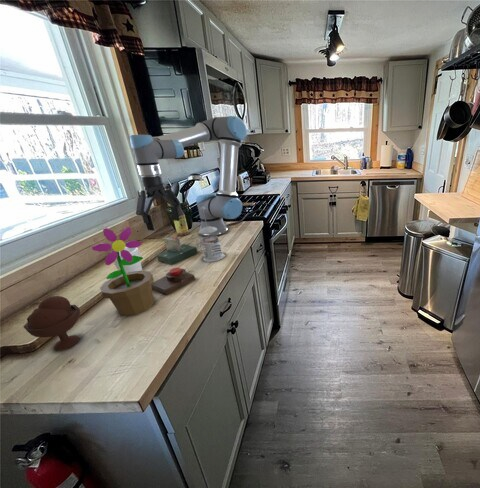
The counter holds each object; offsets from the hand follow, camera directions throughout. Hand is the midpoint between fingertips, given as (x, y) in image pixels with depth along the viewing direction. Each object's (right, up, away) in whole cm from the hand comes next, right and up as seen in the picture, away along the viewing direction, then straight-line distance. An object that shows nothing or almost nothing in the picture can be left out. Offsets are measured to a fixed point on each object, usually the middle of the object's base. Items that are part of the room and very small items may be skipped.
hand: (164, 225), depth 114 cm
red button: (+11, -20, -11) cm, 26 cm away
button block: (+11, -24, -11) cm, 29 cm away
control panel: (-1, -14, +12) cm, 19 cm away
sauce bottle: (-14, -3, +41) cm, 43 cm away
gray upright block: (-1, -12, +10) cm, 16 cm away
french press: (+17, -15, +10) cm, 25 cm away
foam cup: (-8, -23, -7) cm, 25 cm away
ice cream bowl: (-4, -37, -39) cm, 54 cm away
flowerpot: (+5, -30, -24) cm, 39 cm away
